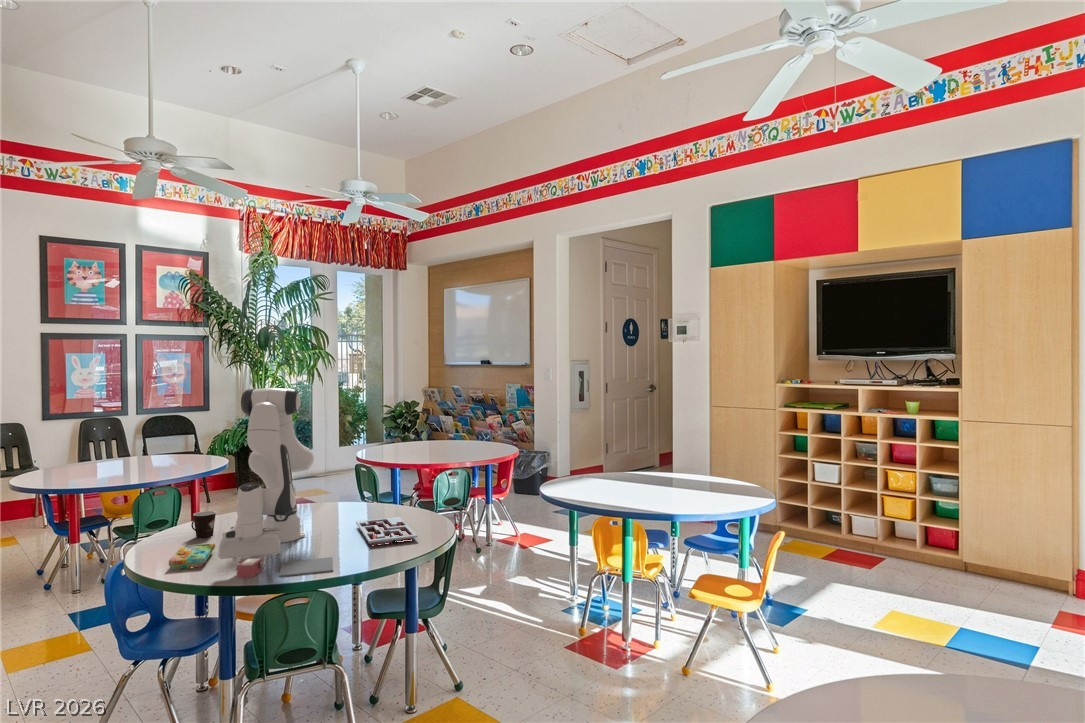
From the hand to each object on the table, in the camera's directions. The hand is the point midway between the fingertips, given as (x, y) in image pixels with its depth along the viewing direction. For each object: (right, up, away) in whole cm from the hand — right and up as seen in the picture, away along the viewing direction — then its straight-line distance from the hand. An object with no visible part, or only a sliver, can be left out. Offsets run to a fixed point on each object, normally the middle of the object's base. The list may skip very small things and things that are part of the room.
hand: (250, 568), depth 231 cm
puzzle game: (-28, -2, +14) cm, 31 cm away
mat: (+18, -2, +6) cm, 19 cm away
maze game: (+36, -2, +50) cm, 62 cm away
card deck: (0, -2, 0) cm, 2 cm away
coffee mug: (-42, -2, +47) cm, 63 cm away
